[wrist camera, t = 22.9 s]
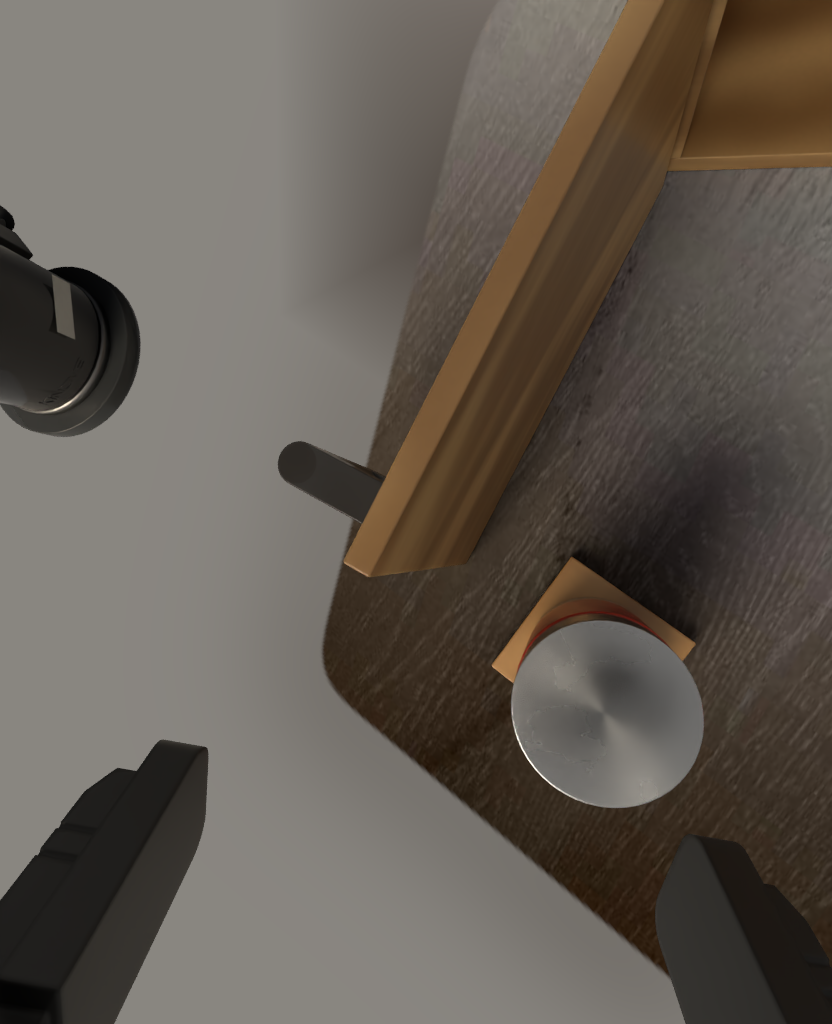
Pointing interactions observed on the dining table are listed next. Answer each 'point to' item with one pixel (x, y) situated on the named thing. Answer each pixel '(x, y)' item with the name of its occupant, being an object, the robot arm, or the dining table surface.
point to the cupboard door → (524, 308)
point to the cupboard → (760, 89)
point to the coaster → (583, 584)
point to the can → (605, 705)
